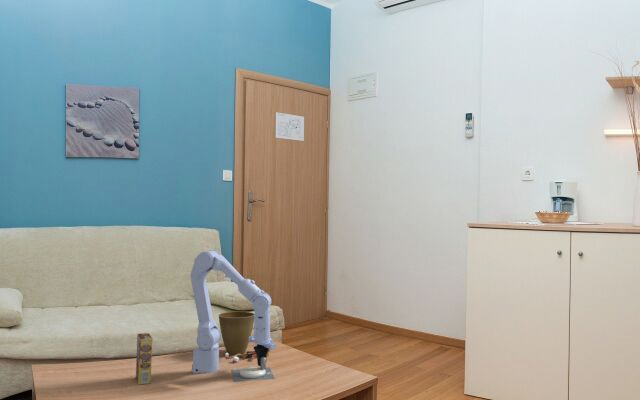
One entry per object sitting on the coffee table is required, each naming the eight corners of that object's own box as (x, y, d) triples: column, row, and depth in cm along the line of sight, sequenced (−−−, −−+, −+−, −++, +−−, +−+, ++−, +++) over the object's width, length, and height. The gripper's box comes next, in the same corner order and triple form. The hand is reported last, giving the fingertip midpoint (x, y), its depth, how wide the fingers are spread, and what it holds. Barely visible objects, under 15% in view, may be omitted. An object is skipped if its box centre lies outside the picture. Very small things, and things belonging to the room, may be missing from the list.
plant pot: (259, 354, 206) (260, 315, 207) (225, 359, 199) (225, 319, 199) (246, 346, 219) (246, 309, 220) (213, 350, 212) (213, 312, 212)
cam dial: (246, 379, 172) (246, 364, 172) (235, 372, 179) (236, 358, 180) (270, 375, 177) (271, 360, 177) (260, 368, 184) (260, 354, 184)
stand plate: (234, 384, 170) (234, 381, 170) (231, 372, 183) (231, 369, 183) (275, 381, 174) (275, 378, 174) (269, 370, 186) (269, 367, 186)
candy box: (151, 383, 171) (152, 338, 171) (138, 385, 169) (139, 339, 169) (148, 375, 179) (149, 332, 179) (135, 377, 177) (136, 333, 177)
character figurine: (224, 361, 198) (224, 351, 198) (264, 354, 209) (265, 344, 209) (234, 367, 190) (234, 356, 190) (276, 360, 201) (276, 350, 201)
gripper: (282, 329, 179) (282, 368, 178) (260, 322, 190) (260, 358, 189) (266, 333, 174) (266, 372, 174) (244, 325, 185) (244, 362, 185)
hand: (261, 365), depth 181 cm, fingers closed, pressing on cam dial
